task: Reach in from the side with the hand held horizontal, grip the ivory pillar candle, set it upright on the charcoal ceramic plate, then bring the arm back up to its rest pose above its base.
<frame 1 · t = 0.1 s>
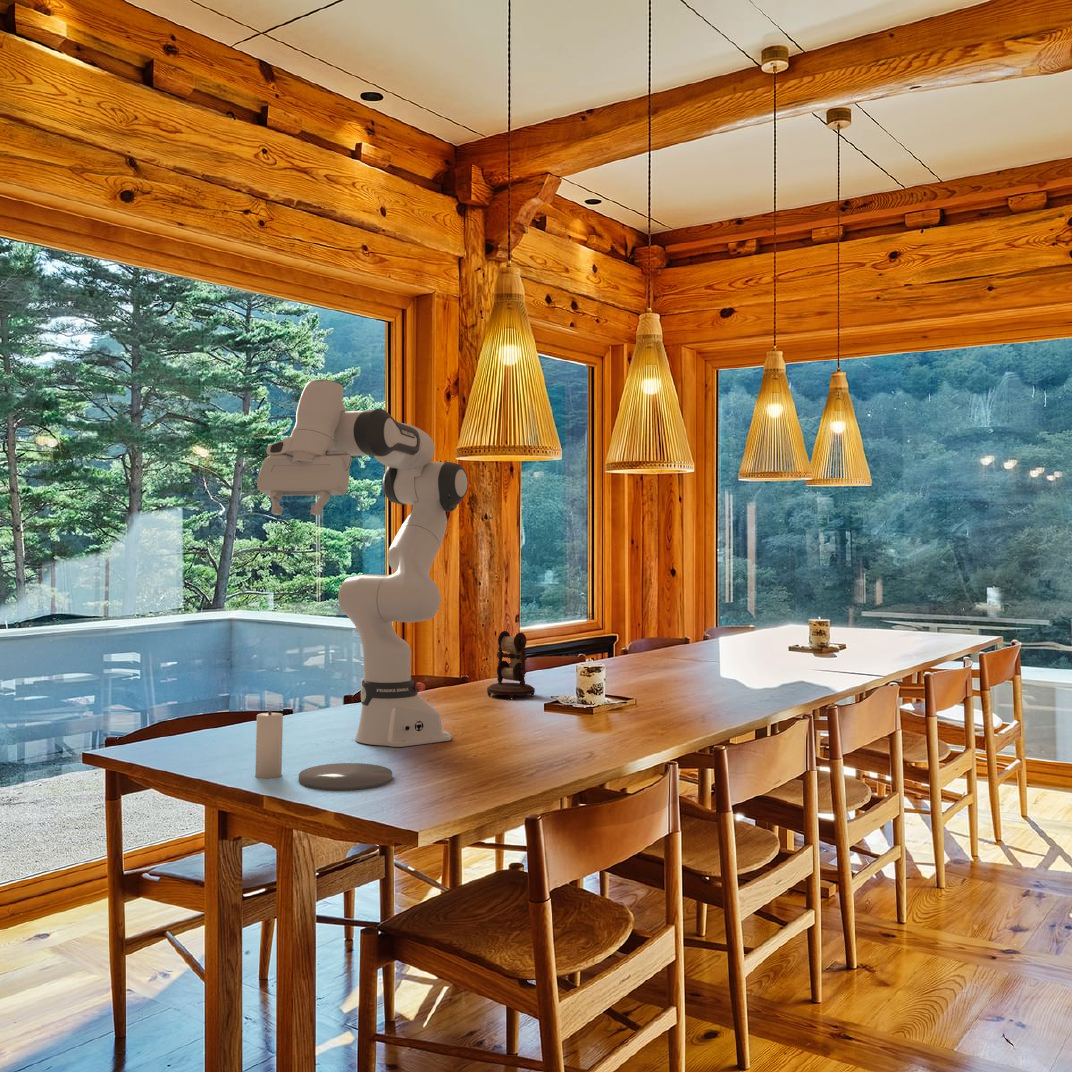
hand: (295, 514, 200), 52 cm above the table, fingers open, 8 cm apart
candle: (268, 775, 196), on the table
double spool stand: (510, 697, 306), on the table
plate: (345, 779, 194), on the table
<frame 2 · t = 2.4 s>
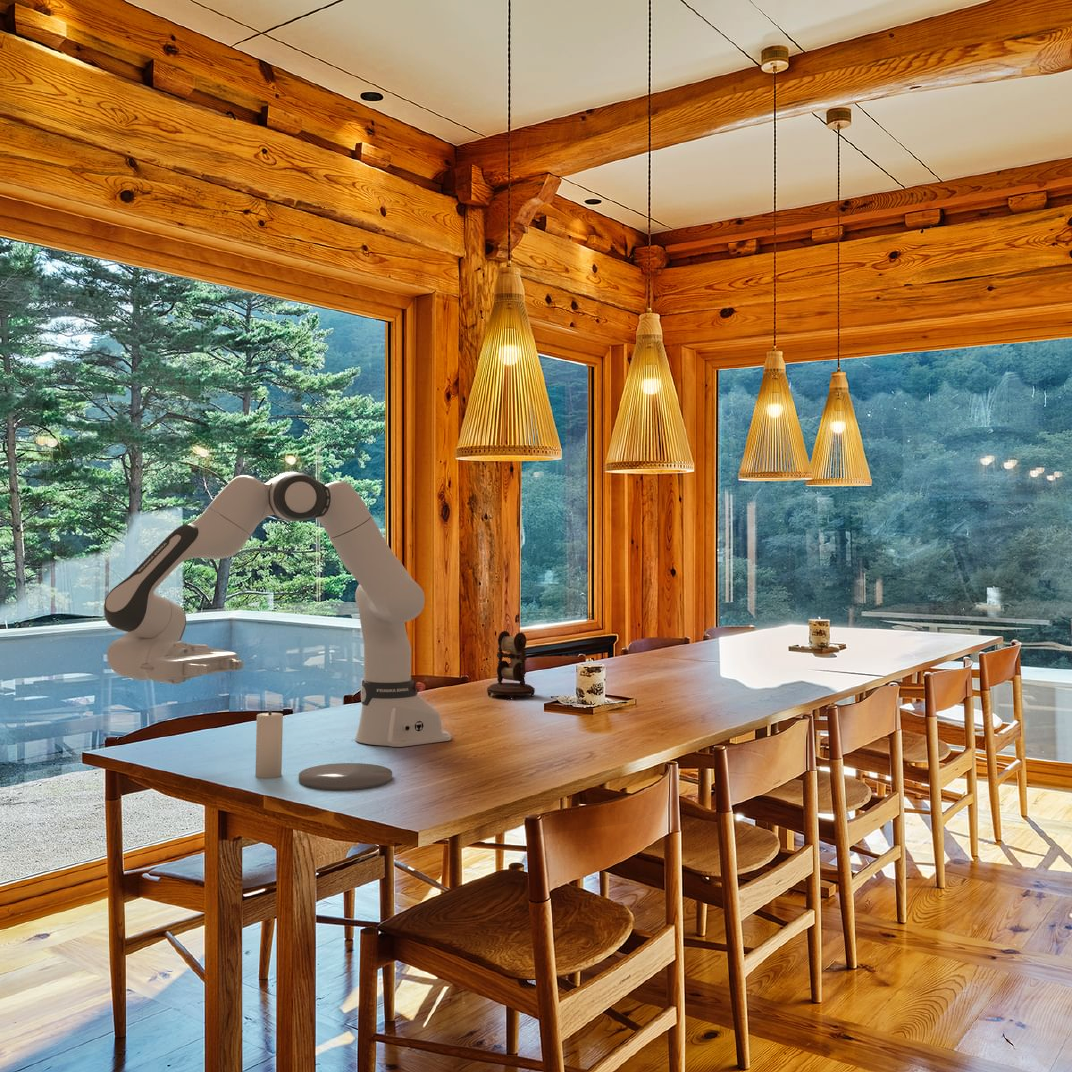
hand: (224, 667, 202), 20 cm above the table, fingers open, 8 cm apart
nothing on the table moved.
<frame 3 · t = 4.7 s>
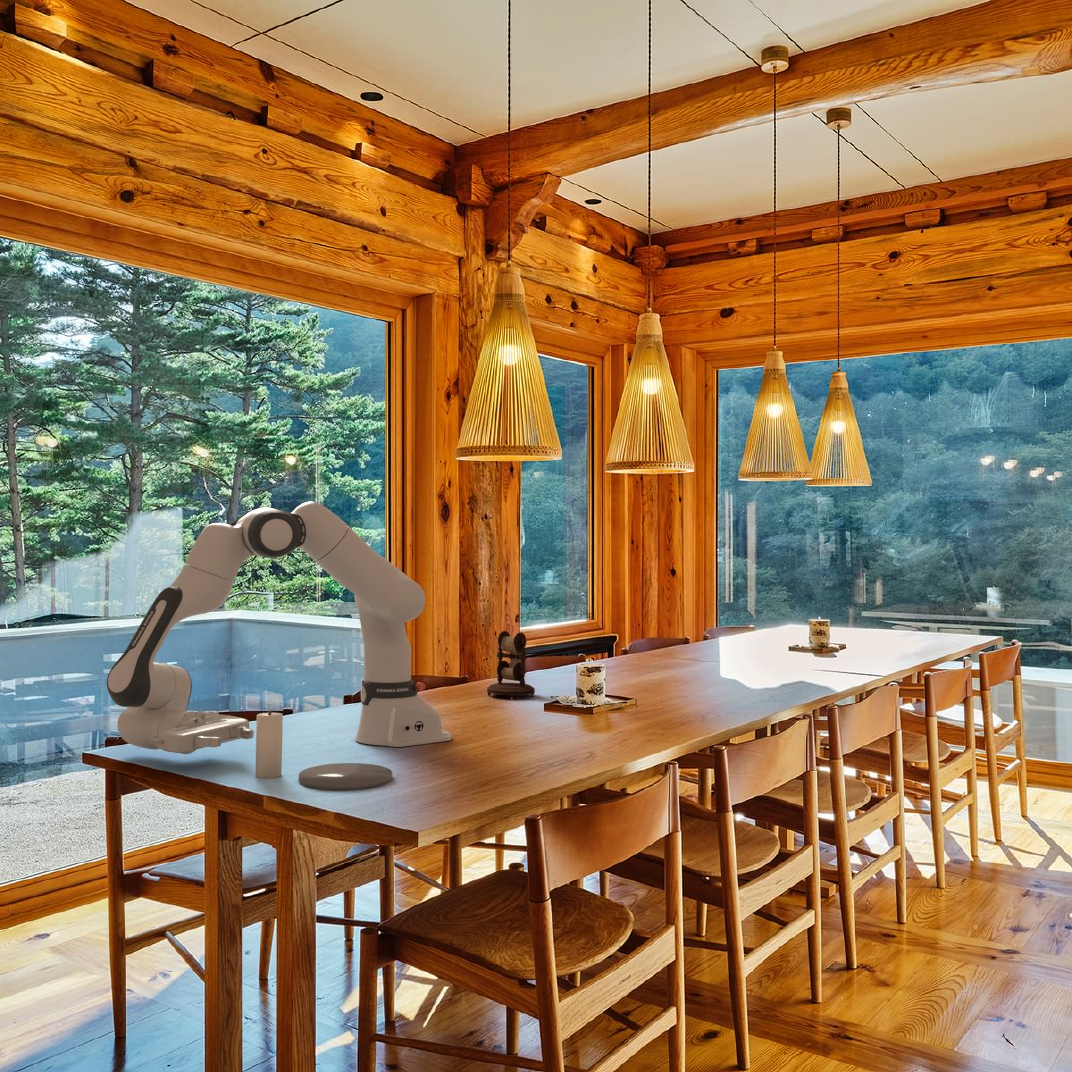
hand: (235, 738, 200), 6 cm above the table, fingers open, 8 cm apart
nothing on the table moved.
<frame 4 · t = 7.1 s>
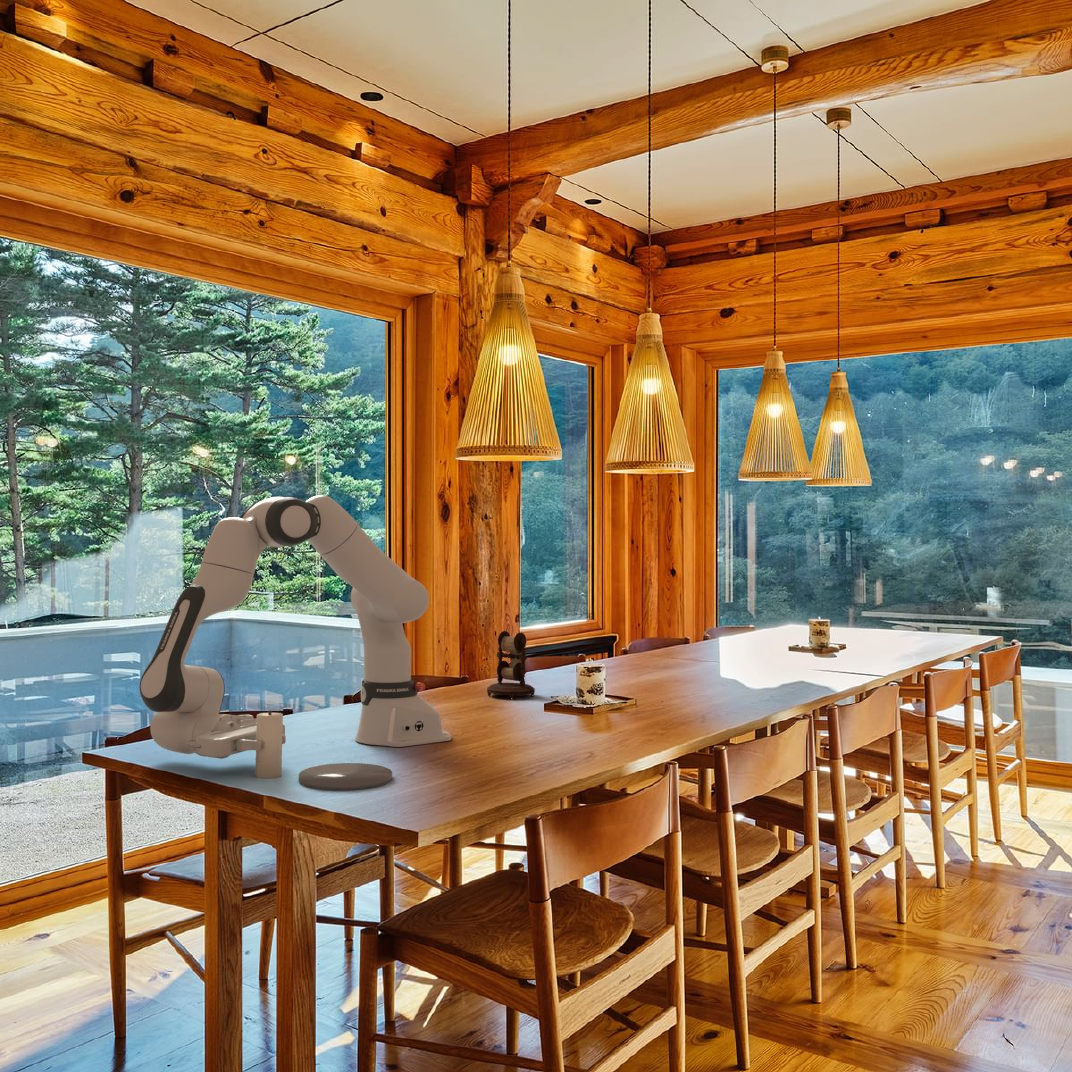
hand: (272, 742, 196), 7 cm above the table, fingers closed on candle, 5 cm apart
candle: (268, 775, 196), on the table, touching gripper
everything else where it was.
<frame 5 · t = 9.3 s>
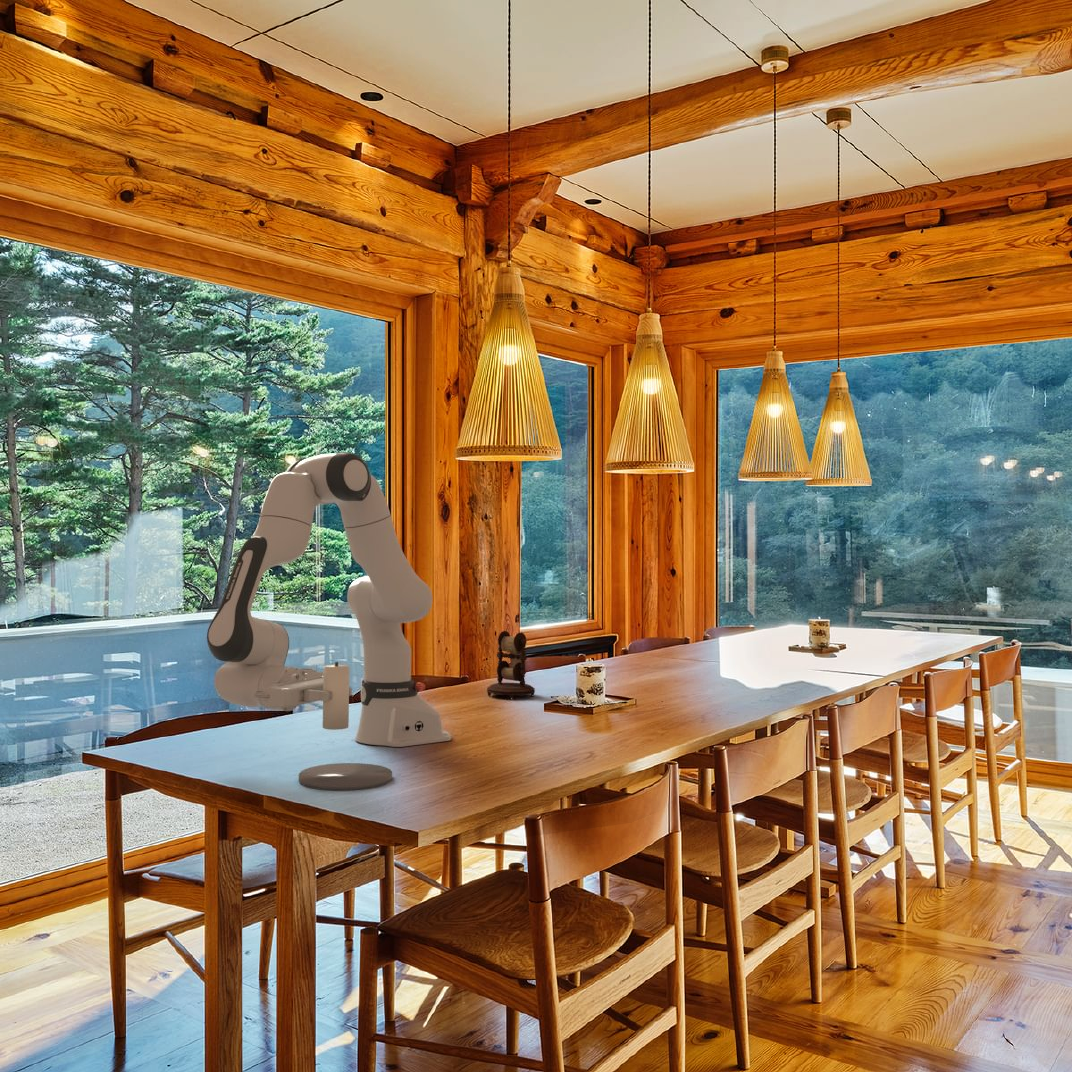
hand: (339, 693, 195), 17 cm above the table, fingers closed on candle, 5 cm apart
candle: (335, 727, 195), point 10 cm above the table, touching gripper
everything else where it was.
when the fingers open (9 cm above the table, at t = 11.8 s): candle drops 1 cm, resting on plate.
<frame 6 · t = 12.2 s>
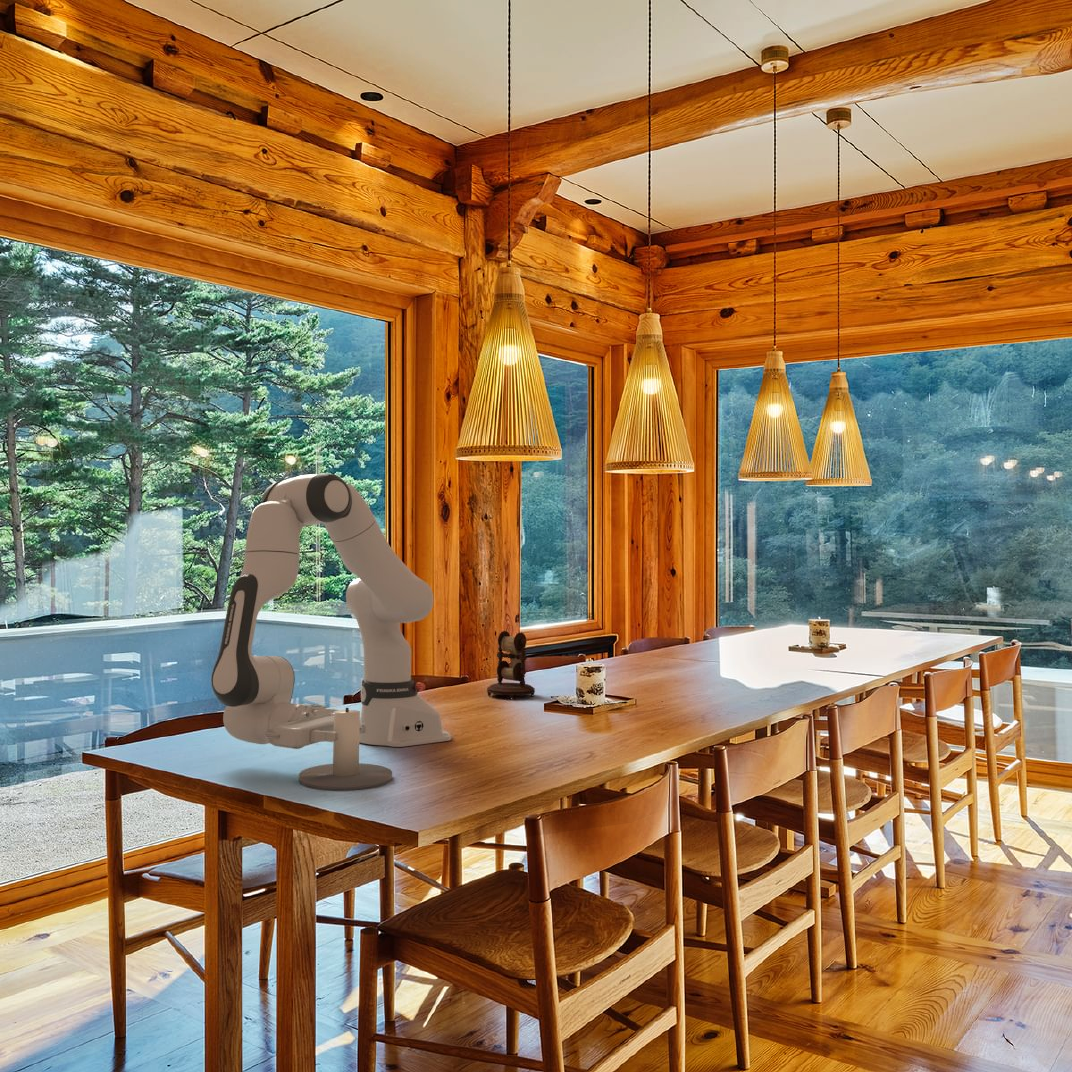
hand: (350, 732, 194), 9 cm above the table, fingers open, 8 cm apart
candle: (345, 773, 194), point 1 cm above the table, touching plate
everything else where it was.
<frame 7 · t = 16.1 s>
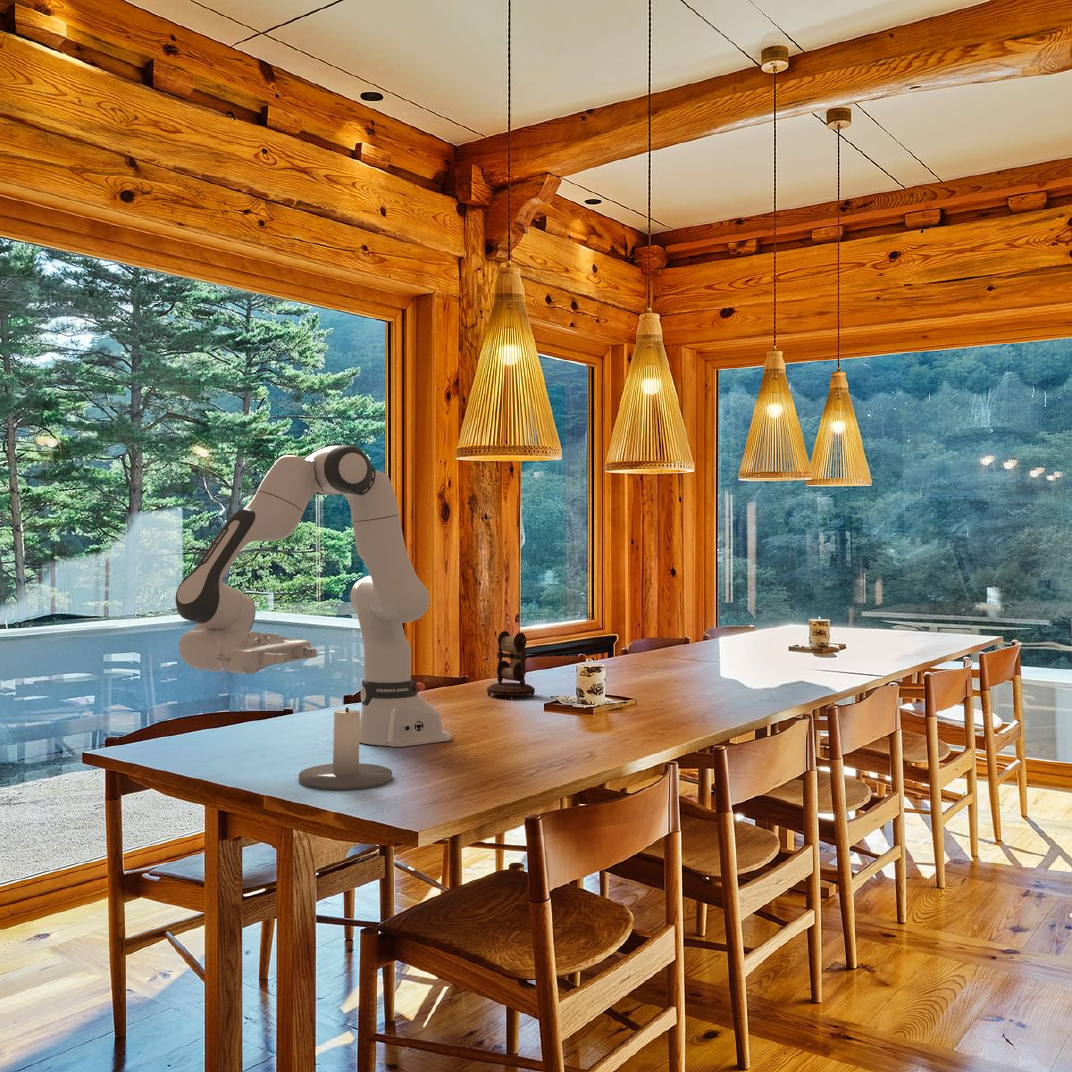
hand: (300, 656, 200), 23 cm above the table, fingers open, 8 cm apart
nothing on the table moved.
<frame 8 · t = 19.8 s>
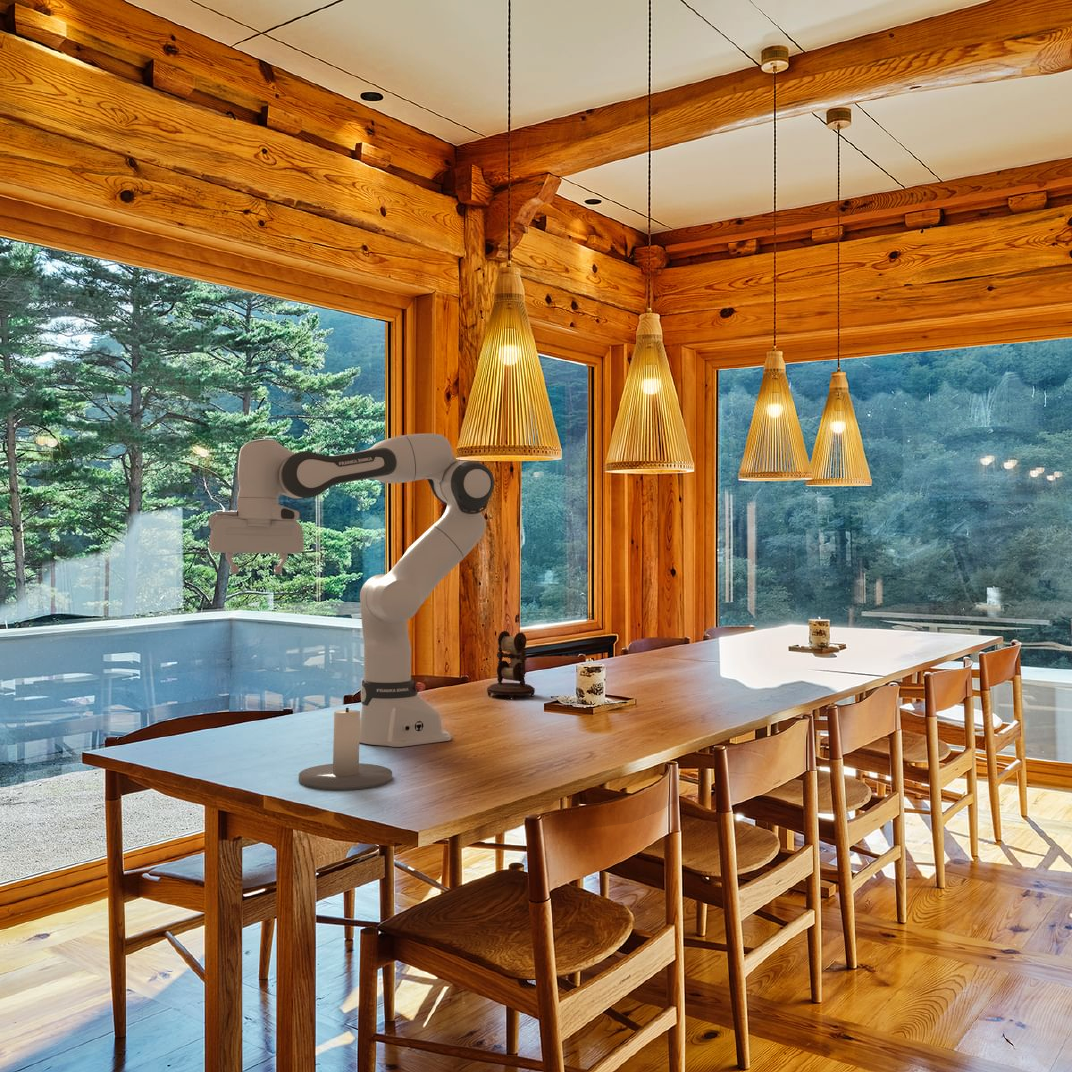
hand: (256, 573, 220), 39 cm above the table, fingers open, 8 cm apart
nothing on the table moved.
at the end: candle inside the target area on the plate (0.0 cm from its centre), point 1.2 cm above the plate's base; candle tilted 0°; the gripper is holding nothing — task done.
